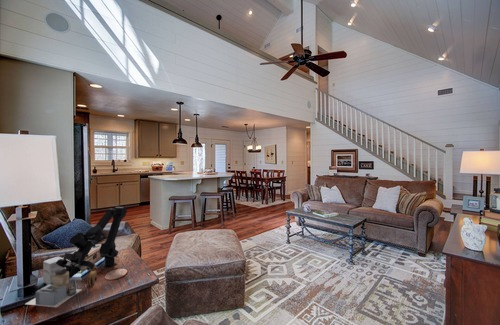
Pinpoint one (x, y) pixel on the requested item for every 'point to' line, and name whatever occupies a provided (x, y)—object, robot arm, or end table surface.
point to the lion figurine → (92, 275)
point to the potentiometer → (71, 291)
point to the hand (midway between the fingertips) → (65, 281)
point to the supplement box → (50, 269)
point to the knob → (61, 279)
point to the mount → (50, 296)
